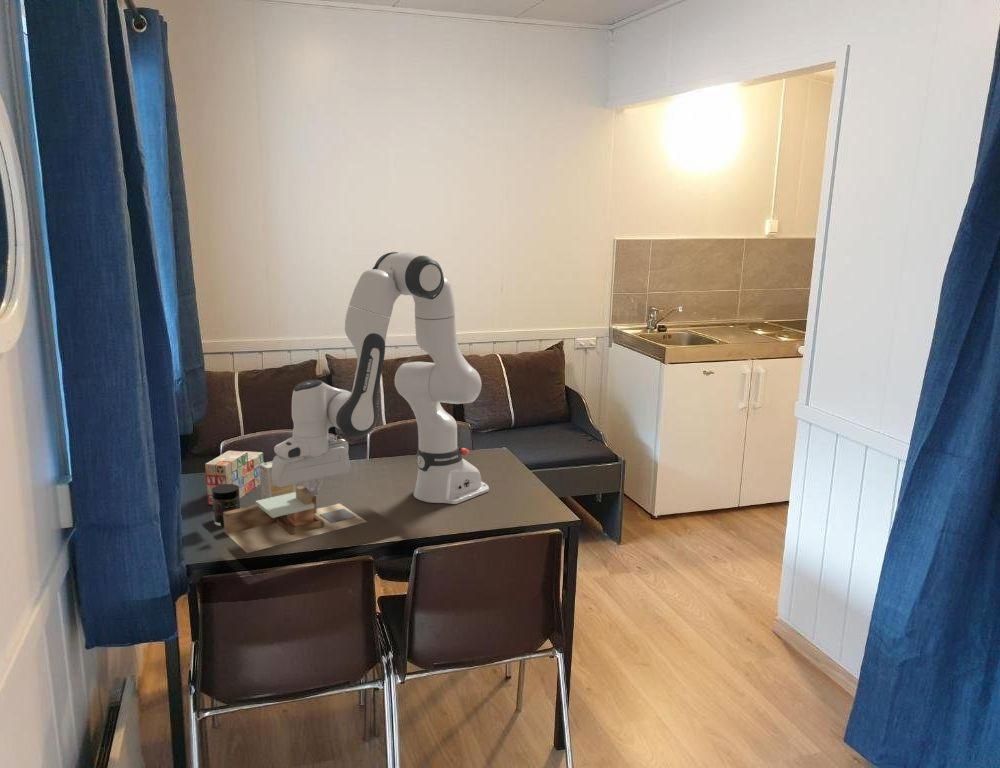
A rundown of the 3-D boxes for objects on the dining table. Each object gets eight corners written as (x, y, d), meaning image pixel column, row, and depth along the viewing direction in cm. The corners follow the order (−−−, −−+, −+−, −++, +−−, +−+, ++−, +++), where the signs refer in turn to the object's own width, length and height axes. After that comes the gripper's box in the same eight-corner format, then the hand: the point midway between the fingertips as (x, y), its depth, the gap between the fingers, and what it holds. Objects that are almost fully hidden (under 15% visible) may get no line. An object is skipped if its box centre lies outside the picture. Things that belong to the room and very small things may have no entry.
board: (339, 508, 216) (338, 485, 215) (367, 527, 204) (367, 502, 203) (224, 536, 197) (222, 511, 196) (247, 558, 185) (245, 532, 183)
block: (305, 520, 204) (304, 502, 203) (313, 526, 200) (313, 507, 199) (287, 524, 201) (286, 506, 200) (295, 530, 197) (294, 512, 196)
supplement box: (288, 501, 221) (285, 457, 219) (296, 505, 218) (294, 461, 215) (261, 508, 216) (258, 463, 213) (269, 513, 212) (267, 467, 210)
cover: (296, 495, 206) (295, 481, 205) (314, 508, 198) (313, 493, 197) (255, 504, 200) (254, 489, 199) (272, 517, 191) (271, 502, 190)
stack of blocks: (246, 479, 238) (244, 441, 236) (265, 481, 237) (263, 442, 235) (207, 505, 218) (204, 463, 215) (228, 507, 217) (225, 464, 214)
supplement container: (247, 524, 205) (244, 486, 203) (228, 533, 199) (225, 494, 197) (227, 519, 208) (225, 482, 206) (208, 528, 202) (205, 490, 200)
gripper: (342, 434, 207) (343, 484, 210) (267, 447, 195) (270, 500, 198) (353, 440, 202) (354, 490, 205) (277, 454, 190) (280, 507, 193)
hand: (312, 495), depth 201 cm, fingers closed
